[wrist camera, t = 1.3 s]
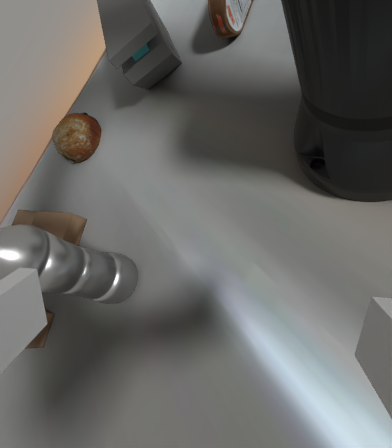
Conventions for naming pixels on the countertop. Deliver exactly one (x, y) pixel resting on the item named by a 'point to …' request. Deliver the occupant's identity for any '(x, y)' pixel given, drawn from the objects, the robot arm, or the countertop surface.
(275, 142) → the countertop surface
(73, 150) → the bread roll
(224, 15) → the tin
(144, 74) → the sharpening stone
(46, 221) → the notched board
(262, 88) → the countertop surface
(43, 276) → the plastic bottle
